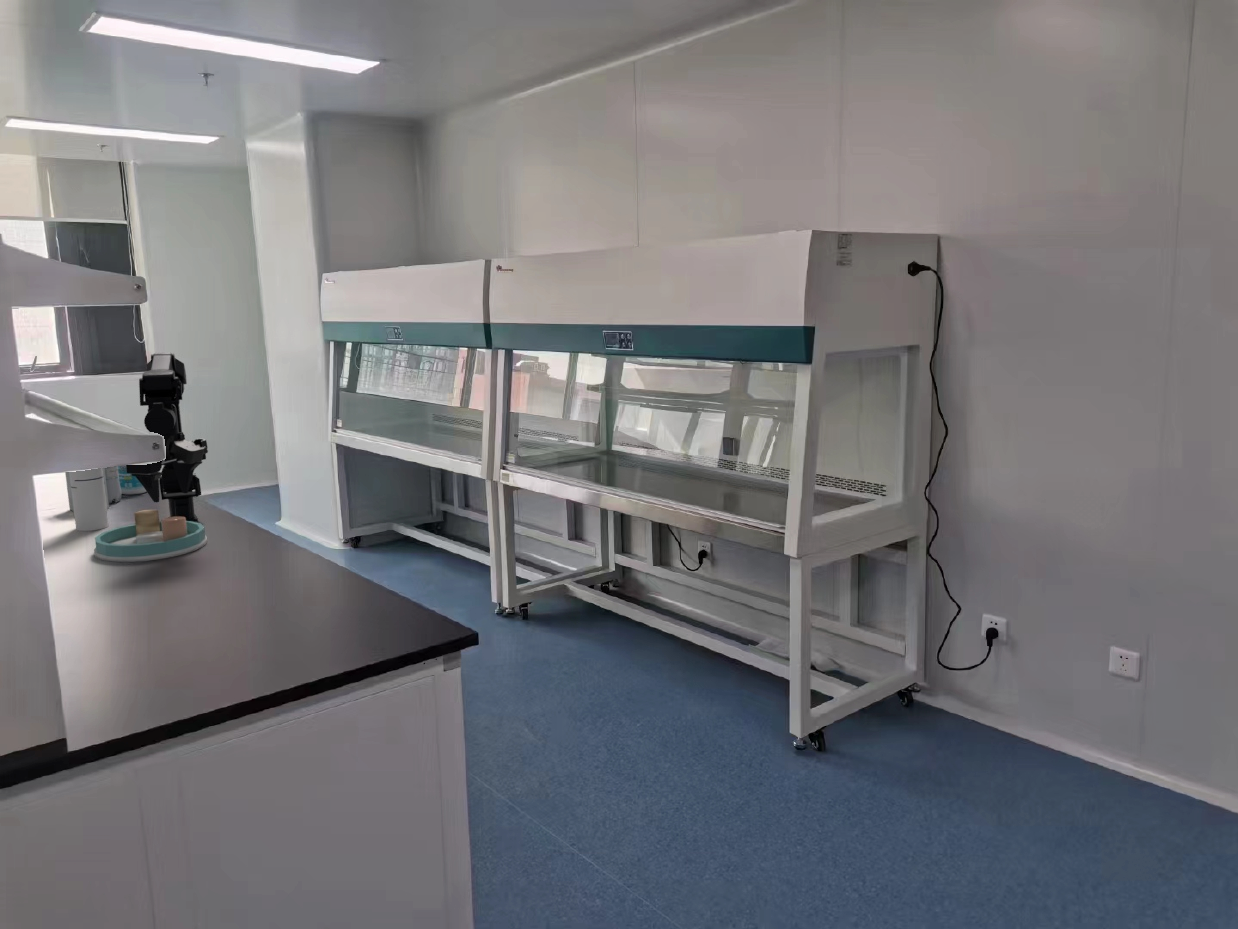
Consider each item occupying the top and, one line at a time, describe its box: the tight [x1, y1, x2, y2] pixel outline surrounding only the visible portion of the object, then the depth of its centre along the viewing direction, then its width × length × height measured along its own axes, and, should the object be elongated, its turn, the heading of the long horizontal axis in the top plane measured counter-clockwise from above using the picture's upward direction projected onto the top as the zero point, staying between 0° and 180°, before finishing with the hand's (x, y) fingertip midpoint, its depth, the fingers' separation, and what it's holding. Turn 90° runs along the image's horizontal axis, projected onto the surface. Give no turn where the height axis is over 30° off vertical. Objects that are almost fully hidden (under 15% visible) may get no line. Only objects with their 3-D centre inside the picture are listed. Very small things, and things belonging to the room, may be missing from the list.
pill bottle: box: [117, 466, 147, 496], centre depth 264 cm, size 8×7×14 cm
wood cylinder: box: [133, 509, 160, 535], centre depth 212 cm, size 5×5×6 cm
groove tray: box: [93, 520, 208, 563], centre depth 207 cm, size 23×23×4 cm
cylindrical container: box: [69, 468, 110, 532], centre depth 224 cm, size 7×7×25 cm
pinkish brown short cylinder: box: [160, 516, 187, 541], centre depth 205 cm, size 5×5×6 cm
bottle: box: [105, 466, 122, 504], centre depth 252 cm, size 7×7×20 cm
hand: (171, 497), depth 204 cm, fingers open, 9 cm apart
